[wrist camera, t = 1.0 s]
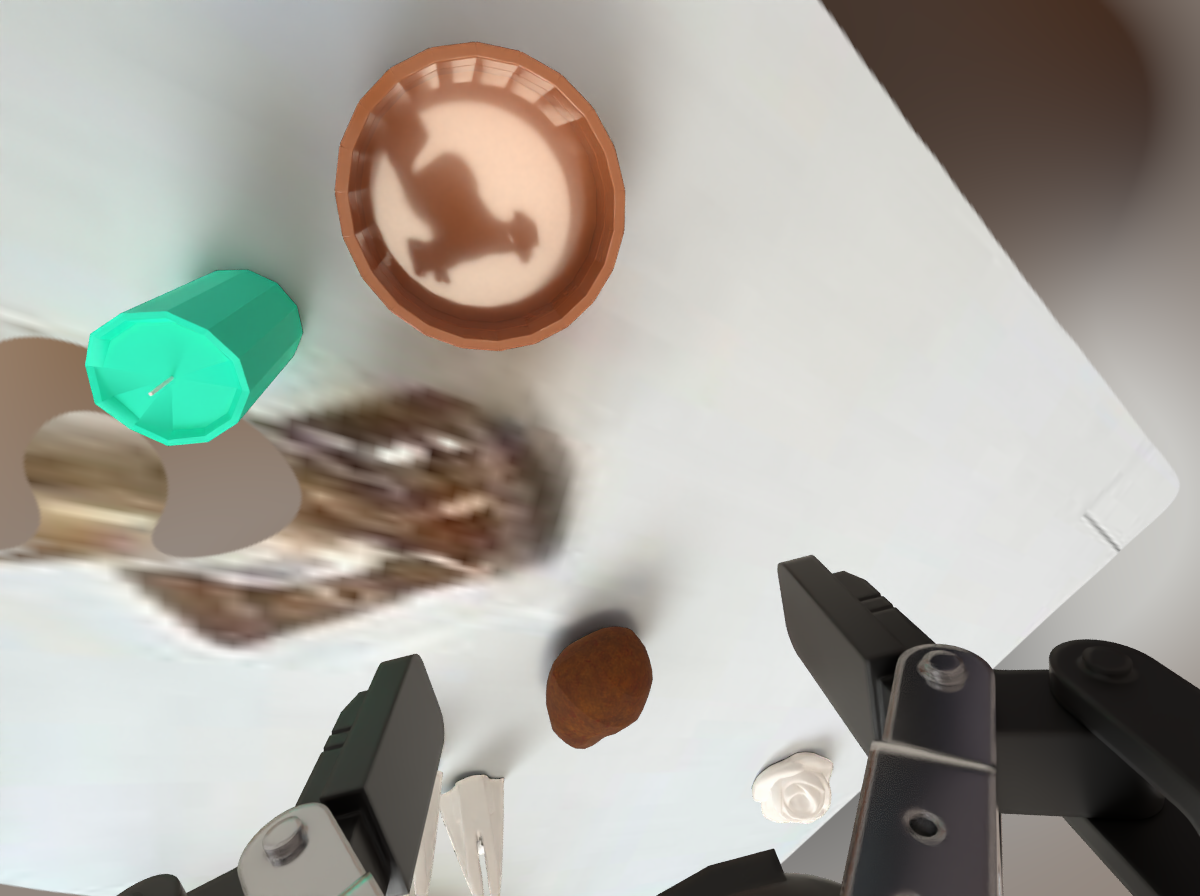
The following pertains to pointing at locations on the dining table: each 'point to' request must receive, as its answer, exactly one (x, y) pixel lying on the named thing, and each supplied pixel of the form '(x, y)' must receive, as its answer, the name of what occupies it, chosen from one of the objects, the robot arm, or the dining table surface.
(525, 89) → the pot
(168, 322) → the candle
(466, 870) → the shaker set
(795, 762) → the rose
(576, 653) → the potato
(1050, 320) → the dining table surface
